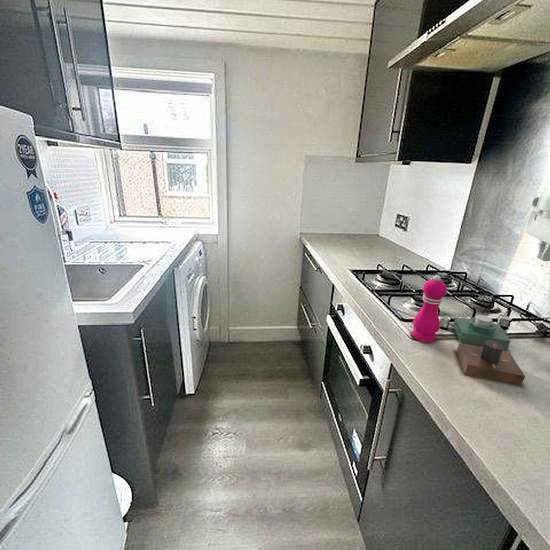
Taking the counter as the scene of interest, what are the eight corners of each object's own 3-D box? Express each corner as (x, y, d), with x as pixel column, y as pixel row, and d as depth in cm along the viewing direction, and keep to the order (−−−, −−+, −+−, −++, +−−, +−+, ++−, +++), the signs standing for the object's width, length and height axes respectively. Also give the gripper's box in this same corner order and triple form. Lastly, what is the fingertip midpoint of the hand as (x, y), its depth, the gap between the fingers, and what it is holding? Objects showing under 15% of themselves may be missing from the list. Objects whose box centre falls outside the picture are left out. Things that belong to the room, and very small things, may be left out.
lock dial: (478, 351, 79) (483, 337, 78) (496, 355, 78) (501, 341, 77) (482, 360, 76) (487, 346, 74) (501, 364, 75) (506, 350, 73)
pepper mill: (410, 340, 89) (424, 277, 82) (410, 328, 96) (423, 269, 88) (437, 346, 87) (454, 282, 79) (435, 333, 93) (450, 273, 86)
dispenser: (495, 332, 94) (500, 318, 93) (507, 350, 86) (512, 335, 84) (452, 325, 98) (456, 311, 96) (459, 342, 89) (463, 327, 87)
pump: (488, 322, 91) (489, 316, 91) (492, 328, 88) (494, 322, 87) (473, 319, 92) (474, 313, 92) (476, 326, 89) (478, 320, 88)
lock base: (506, 361, 81) (510, 351, 80) (521, 386, 72) (525, 375, 71) (456, 351, 84) (459, 342, 83) (464, 374, 76) (467, 363, 74)
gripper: (609, 211, 61) (582, 275, 66) (558, 200, 79) (539, 250, 84) (571, 209, 63) (547, 271, 68) (529, 198, 81) (513, 247, 86)
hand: (542, 259), depth 76 cm, fingers closed
